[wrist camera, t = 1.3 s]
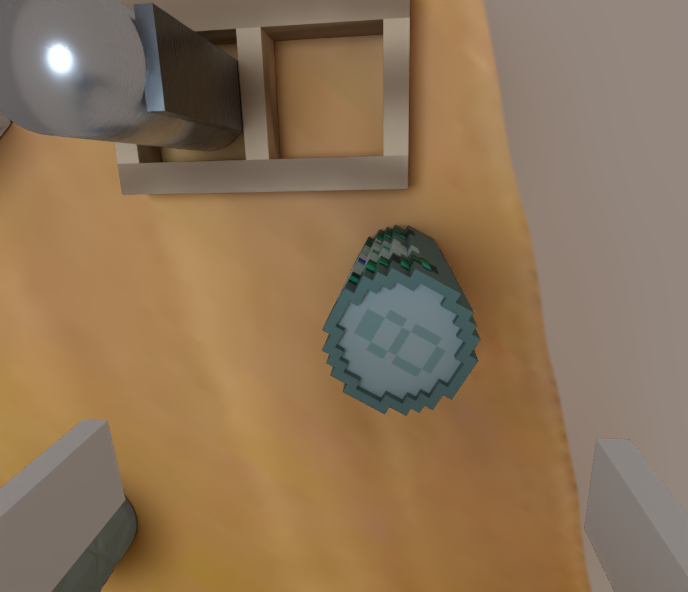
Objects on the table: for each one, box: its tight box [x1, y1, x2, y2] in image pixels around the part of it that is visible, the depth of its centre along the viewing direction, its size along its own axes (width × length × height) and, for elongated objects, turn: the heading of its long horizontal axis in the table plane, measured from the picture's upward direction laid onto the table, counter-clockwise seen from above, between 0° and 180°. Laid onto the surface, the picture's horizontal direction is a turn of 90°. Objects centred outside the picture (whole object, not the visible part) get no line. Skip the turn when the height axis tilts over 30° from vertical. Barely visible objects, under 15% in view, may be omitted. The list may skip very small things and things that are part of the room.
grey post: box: [0, 0, 243, 151], centre depth 24 cm, size 6×7×15 cm
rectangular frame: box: [115, 0, 410, 195], centre depth 30 cm, size 12×19×3 cm, turn 91°
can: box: [322, 225, 480, 416], centre depth 26 cm, size 6×6×15 cm
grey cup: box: [52, 497, 137, 592], centre depth 37 cm, size 10×10×12 cm
